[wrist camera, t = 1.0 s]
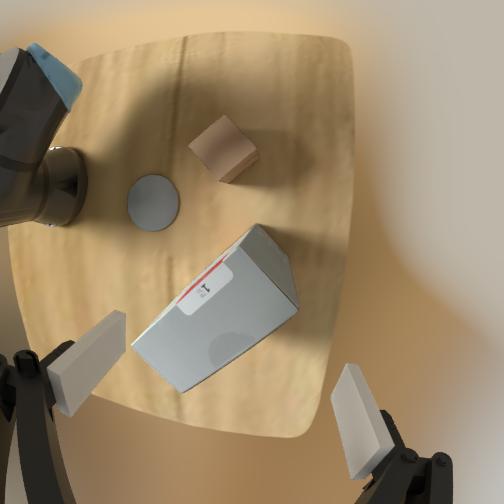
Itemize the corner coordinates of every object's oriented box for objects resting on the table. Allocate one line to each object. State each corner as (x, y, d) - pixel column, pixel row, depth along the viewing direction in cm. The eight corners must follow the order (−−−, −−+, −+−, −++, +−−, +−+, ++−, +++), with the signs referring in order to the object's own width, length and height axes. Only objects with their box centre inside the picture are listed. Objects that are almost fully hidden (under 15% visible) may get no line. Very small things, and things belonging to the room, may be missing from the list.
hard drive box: (256, 220, 41) (242, 241, 21) (290, 258, 41) (306, 311, 22) (184, 286, 43) (128, 347, 24) (217, 319, 44) (183, 398, 25)
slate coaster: (120, 201, 42) (118, 201, 41) (156, 163, 40) (154, 163, 39) (151, 242, 43) (149, 242, 42) (190, 204, 41) (189, 205, 40)
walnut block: (203, 154, 39) (187, 145, 31) (233, 129, 38) (224, 113, 30) (228, 183, 40) (218, 180, 32) (259, 157, 39) (256, 148, 31)
